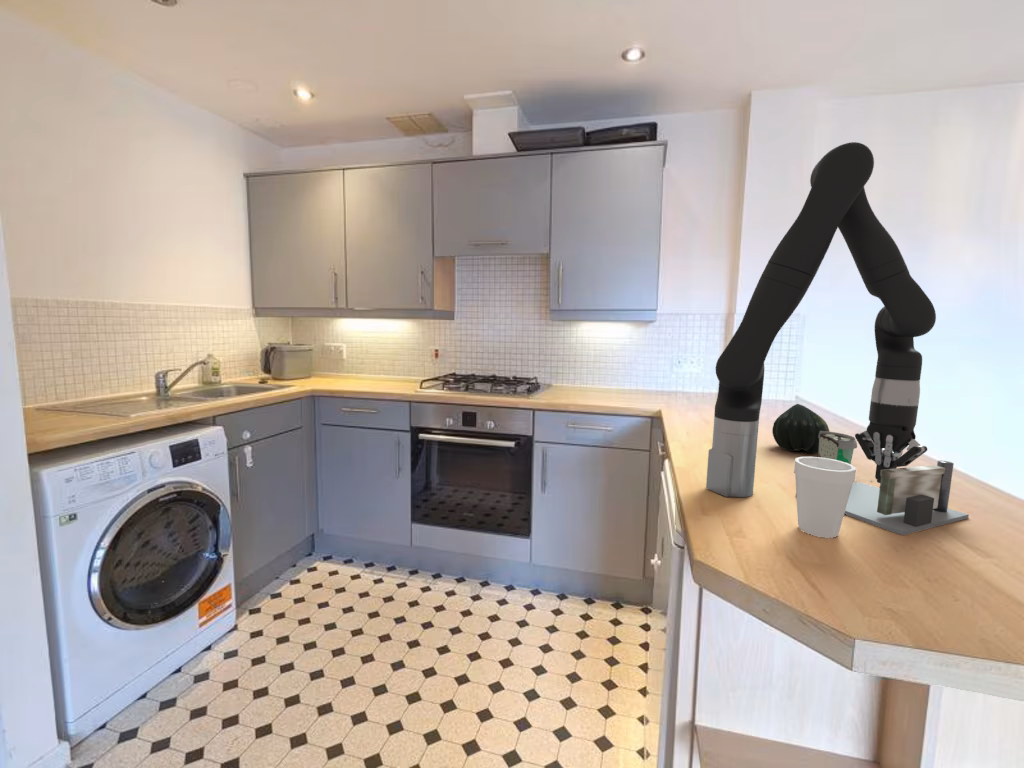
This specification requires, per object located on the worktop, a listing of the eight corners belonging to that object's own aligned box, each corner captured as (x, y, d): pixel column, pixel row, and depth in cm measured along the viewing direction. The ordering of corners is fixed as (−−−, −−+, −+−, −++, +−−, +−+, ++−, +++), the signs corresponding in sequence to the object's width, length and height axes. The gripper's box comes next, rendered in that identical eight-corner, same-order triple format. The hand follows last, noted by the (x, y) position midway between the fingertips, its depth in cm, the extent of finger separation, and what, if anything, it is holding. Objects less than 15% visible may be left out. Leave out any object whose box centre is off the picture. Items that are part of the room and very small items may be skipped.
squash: (823, 443, 133) (830, 400, 140) (765, 436, 143) (774, 396, 149) (827, 467, 142) (833, 425, 149) (772, 459, 152) (780, 420, 158)
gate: (928, 505, 97) (933, 465, 96) (939, 508, 95) (945, 467, 94) (875, 511, 93) (880, 469, 92) (886, 515, 92) (891, 472, 90)
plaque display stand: (902, 535, 86) (909, 477, 85) (795, 496, 106) (800, 449, 104) (968, 518, 95) (975, 465, 93) (858, 485, 114) (863, 440, 113)
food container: (863, 481, 117) (868, 442, 115) (836, 479, 118) (840, 441, 117) (840, 467, 129) (843, 431, 127) (815, 465, 130) (818, 430, 129)
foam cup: (849, 547, 81) (857, 475, 80) (788, 534, 86) (794, 465, 85) (846, 527, 89) (853, 461, 88) (789, 516, 94) (795, 453, 93)
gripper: (945, 406, 90) (932, 492, 92) (873, 395, 102) (864, 472, 104) (918, 407, 87) (906, 496, 90) (848, 396, 100) (839, 475, 102)
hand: (883, 483), depth 97 cm, fingers closed
